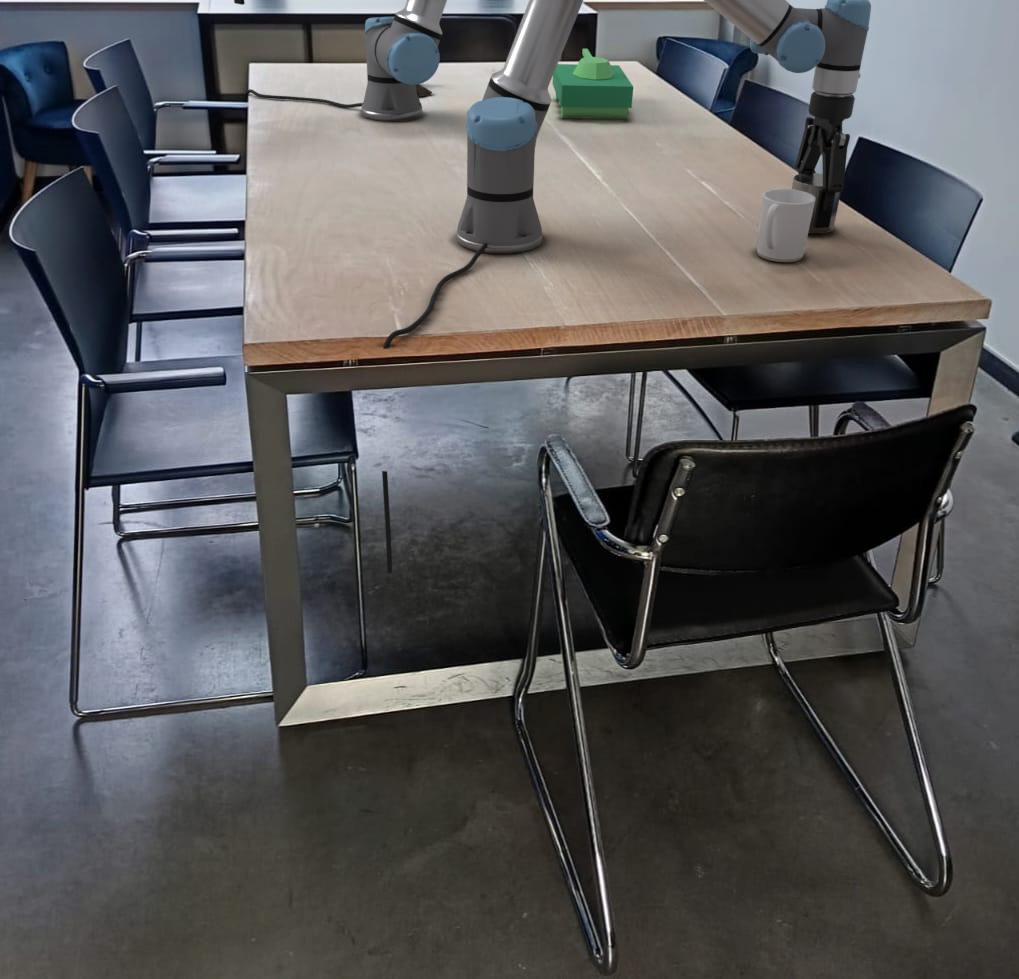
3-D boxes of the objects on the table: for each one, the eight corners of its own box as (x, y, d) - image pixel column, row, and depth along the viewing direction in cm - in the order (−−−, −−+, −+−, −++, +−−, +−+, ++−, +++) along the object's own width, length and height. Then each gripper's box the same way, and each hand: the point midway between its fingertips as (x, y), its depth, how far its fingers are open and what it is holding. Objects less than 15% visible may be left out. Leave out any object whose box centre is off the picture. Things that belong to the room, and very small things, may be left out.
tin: (842, 231, 202) (851, 185, 198) (800, 234, 200) (809, 187, 195) (818, 217, 209) (826, 171, 205) (777, 219, 207) (784, 174, 202)
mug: (769, 242, 197) (777, 185, 192) (814, 254, 192) (824, 196, 187) (738, 258, 190) (746, 199, 184) (785, 270, 185) (795, 210, 180)
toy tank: (616, 45, 298) (634, 70, 268) (612, 92, 304) (630, 122, 275) (551, 43, 297) (563, 69, 267) (549, 91, 303) (560, 121, 274)
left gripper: (215, -107, 218) (227, 8, 230) (314, -110, 234) (321, -3, 245) (194, -109, 223) (207, 4, 234) (293, -112, 238) (300, -6, 250)
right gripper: (881, 106, 184) (854, 237, 195) (828, 80, 202) (807, 201, 213) (839, 106, 182) (815, 238, 194) (790, 80, 200) (770, 201, 212)
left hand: (265, 1), depth 240 cm, fingers open, 13 cm apart
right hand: (811, 218), depth 204 cm, fingers closed on tin, 9 cm apart
